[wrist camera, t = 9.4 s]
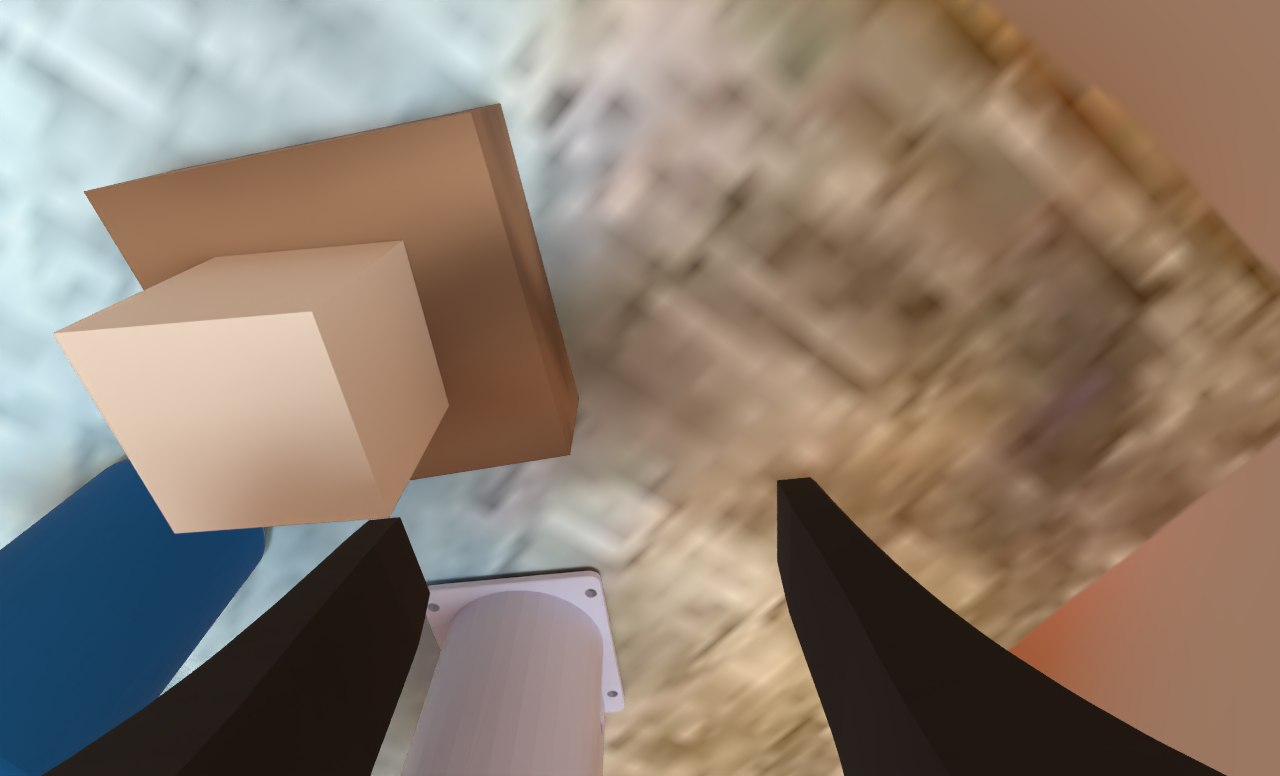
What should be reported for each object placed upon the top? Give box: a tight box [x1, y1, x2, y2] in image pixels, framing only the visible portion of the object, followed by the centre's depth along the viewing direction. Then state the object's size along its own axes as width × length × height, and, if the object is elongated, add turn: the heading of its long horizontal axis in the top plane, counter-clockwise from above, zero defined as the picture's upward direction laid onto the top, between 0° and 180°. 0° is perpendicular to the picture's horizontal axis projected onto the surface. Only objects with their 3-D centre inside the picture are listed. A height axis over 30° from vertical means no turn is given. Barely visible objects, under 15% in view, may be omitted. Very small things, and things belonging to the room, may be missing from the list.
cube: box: [52, 240, 449, 533], centre depth 15 cm, size 5×5×5 cm
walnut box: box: [84, 104, 579, 480], centre depth 19 cm, size 10×10×4 cm
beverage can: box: [0, 460, 266, 776], centre depth 19 cm, size 6×6×12 cm
